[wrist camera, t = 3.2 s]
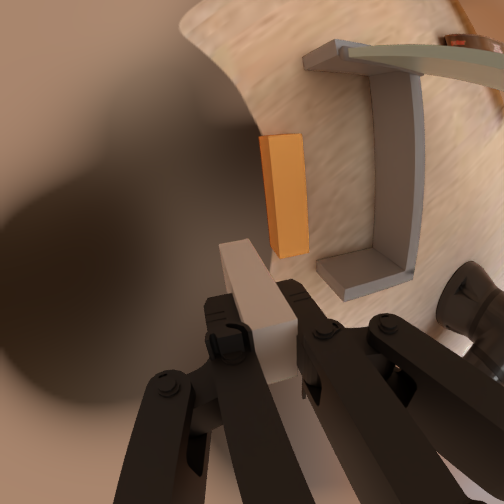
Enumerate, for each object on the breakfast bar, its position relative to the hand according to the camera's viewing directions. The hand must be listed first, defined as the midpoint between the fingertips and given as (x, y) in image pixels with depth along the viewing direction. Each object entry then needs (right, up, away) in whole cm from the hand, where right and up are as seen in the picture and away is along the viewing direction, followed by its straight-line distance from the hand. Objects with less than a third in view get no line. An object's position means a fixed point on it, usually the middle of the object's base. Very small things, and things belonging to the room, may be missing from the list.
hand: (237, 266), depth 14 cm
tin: (+35, +34, +10) cm, 50 cm away
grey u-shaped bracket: (+12, +11, +15) cm, 22 cm away
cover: (+15, +11, -5) cm, 19 cm away
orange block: (+4, +7, +15) cm, 17 cm away
